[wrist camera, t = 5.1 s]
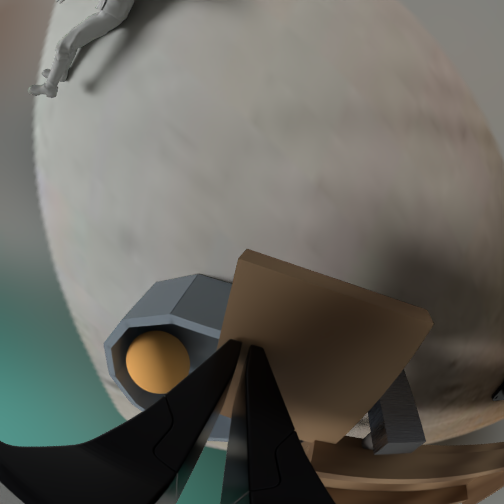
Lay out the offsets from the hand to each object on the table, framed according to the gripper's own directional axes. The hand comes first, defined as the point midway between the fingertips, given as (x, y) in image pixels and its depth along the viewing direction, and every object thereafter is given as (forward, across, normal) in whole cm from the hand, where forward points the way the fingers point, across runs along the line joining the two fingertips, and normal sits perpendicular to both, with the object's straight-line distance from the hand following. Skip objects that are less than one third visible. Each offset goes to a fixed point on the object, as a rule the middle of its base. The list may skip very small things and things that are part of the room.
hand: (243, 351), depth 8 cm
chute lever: (0, -10, +4) cm, 11 cm away
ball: (+4, +5, +7) cm, 9 cm away
